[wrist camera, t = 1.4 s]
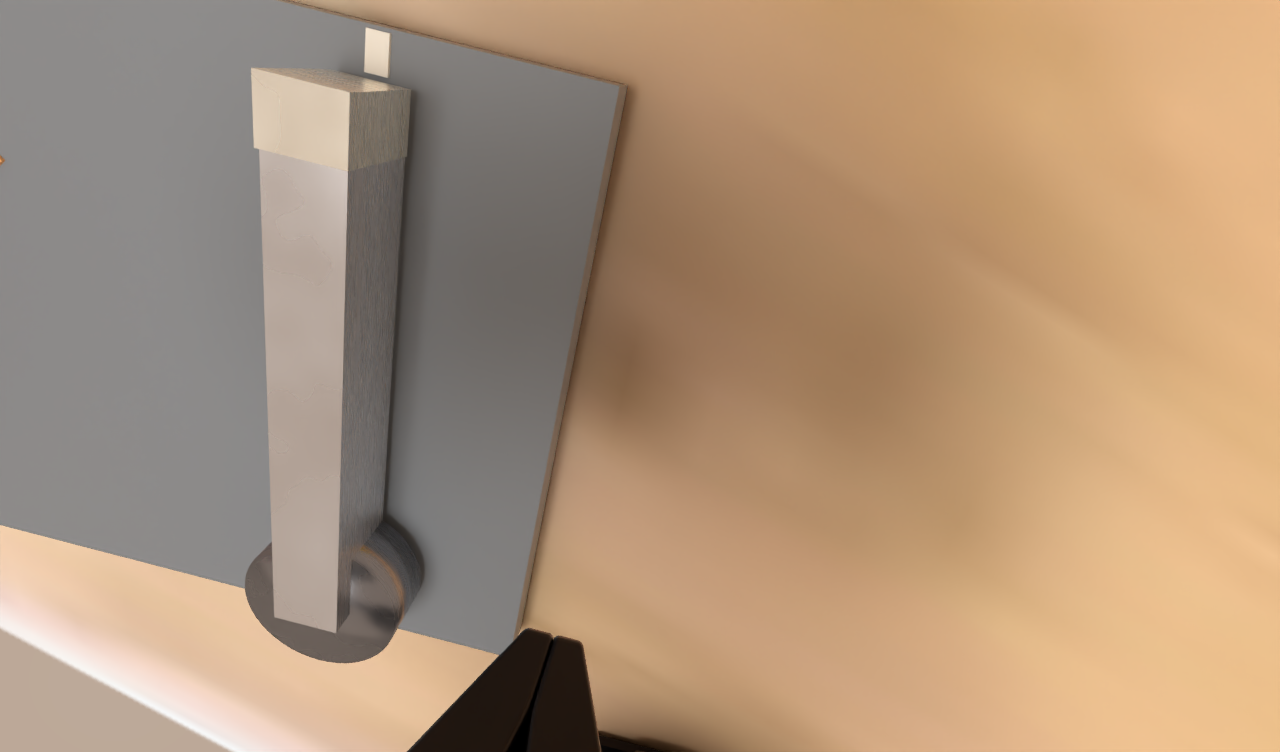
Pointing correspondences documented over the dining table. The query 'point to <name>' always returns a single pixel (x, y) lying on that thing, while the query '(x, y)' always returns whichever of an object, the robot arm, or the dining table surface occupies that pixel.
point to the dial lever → (330, 359)
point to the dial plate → (234, 292)
